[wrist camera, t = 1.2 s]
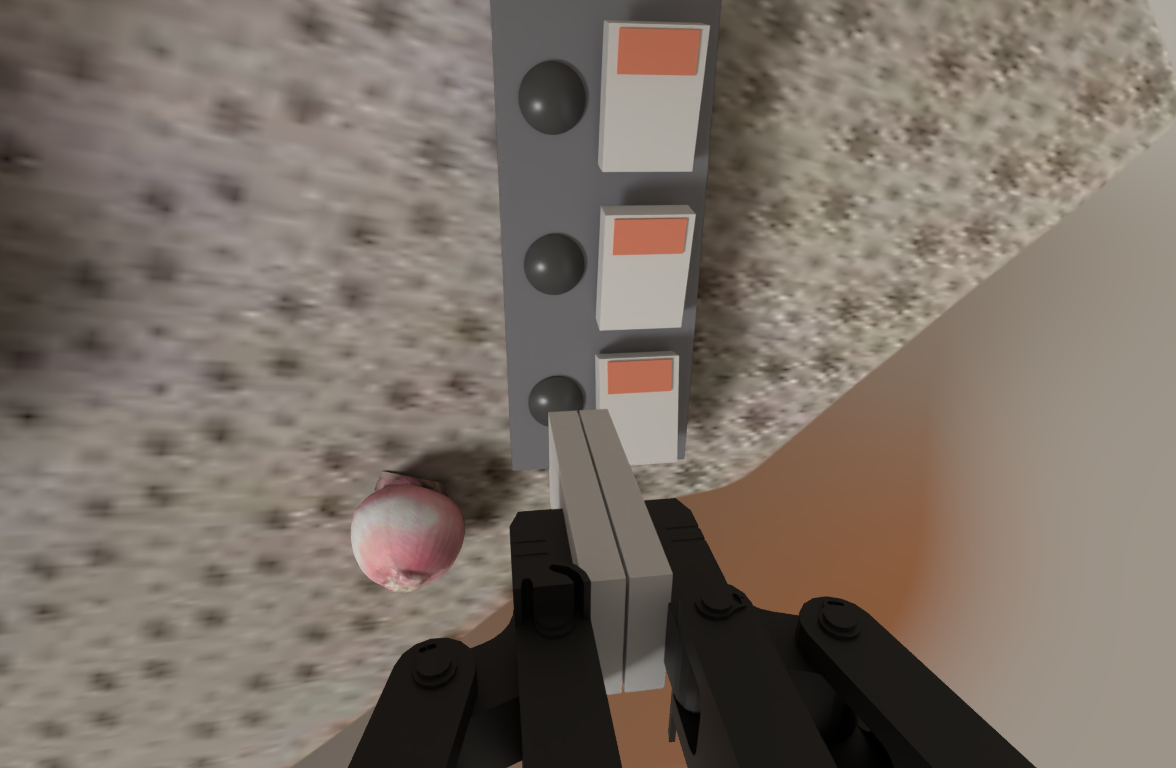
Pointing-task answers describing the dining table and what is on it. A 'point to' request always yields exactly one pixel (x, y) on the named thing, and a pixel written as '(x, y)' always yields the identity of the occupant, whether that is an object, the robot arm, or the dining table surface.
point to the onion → (406, 532)
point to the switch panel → (575, 205)
